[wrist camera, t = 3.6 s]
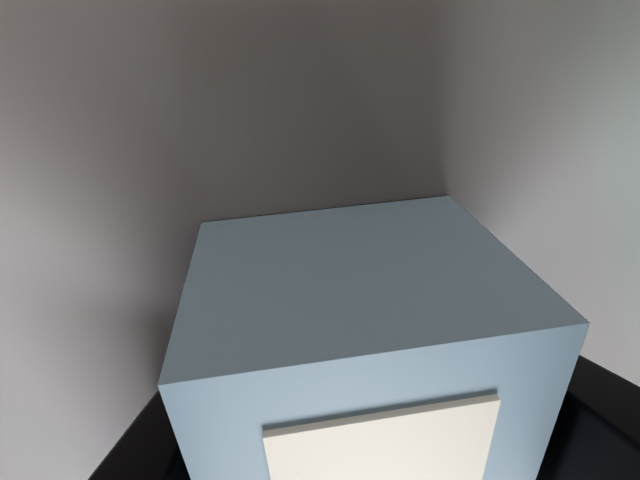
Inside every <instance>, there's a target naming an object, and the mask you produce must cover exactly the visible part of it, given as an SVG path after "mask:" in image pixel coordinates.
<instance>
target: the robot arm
mask: <svg viewBox="0 0 640 480" xmlns="http://www.w3.org/2000/svg"><path fill="white" fill-rule="evenodd" d="M88 480H191V479H190V476H189V473H188V470H187V467H186V465H185V462H184V459H183V456H182V453H181V450H180V448H179V445H178V442H177V439H176V436H175V434H174V431H173V428H172V425H171V422H170V420H169V417H168V414H167V411H166V408H165V406H164V403H163V400H162V397H161V394H160V391H159V390H158V391H157V392H156V394H155V395H154V396H153V397H152V399H151V400H150V401H149V402H148V404H147V405H146V406H145V408H144V409H143V410H142V411H141V413H140V414H139V415H138V416H137V418H136V419H135V420H134V422H133V423H132V424H131V425H130V427H129V428H128V429H127V430H126V432H125V433H124V434H123V435H122V437H121V438H120V439H119V441H118V442H117V443H116V444H115V446H114V447H113V448H112V449H111V451H110V452H109V453H108V455H107V456H106V457H105V458H104V460H103V461H102V462H101V463H100V465H99V466H98V467H97V469H96V470H95V471H94V472H93V474H92V475H91V476H90V477H89V479H88ZM536 480H640V387H639V386H637V385H635V384H633V383H631V382H630V381H628V380H626V379H624V378H622V377H620V376H618V375H616V374H614V373H613V372H611V371H609V370H607V369H605V368H603V367H601V366H599V365H597V364H596V363H594V362H592V361H590V360H588V359H586V358H584V357H582V356H580V355H579V356H578V359H577V362H576V365H575V368H574V370H573V373H572V376H571V379H570V382H569V385H568V388H567V391H566V394H565V396H564V399H563V402H562V405H561V408H560V411H559V414H558V417H557V419H556V422H555V425H554V428H553V431H552V434H551V437H550V440H549V443H548V445H547V448H546V451H545V454H544V457H543V460H542V463H541V466H540V468H539V471H538V474H537V477H536Z"/></svg>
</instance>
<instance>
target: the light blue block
mask: <svg viewBox="0 0 640 480" xmlns="http://www.w3.org/2000/svg"><path fill="white" fill-rule="evenodd" d="M589 324H590V322H589V321H587V320H586V319H585V318H584V317H583V316H582V315H581V314H580V313H579V312H577V311H576V310H575V309H574V308H573V307H572V306H571V305H570V304H569V303H568V302H566V301H565V300H564V299H563V298H562V297H561V296H560V295H559V294H558V293H556V292H555V291H554V290H553V289H552V288H551V287H550V286H549V285H548V284H547V283H545V282H544V281H543V280H542V279H541V278H540V277H539V276H538V275H537V274H535V273H534V272H533V271H532V270H531V269H530V268H529V267H528V266H527V265H526V264H524V263H523V262H522V261H521V260H520V259H519V258H518V257H517V256H516V255H514V254H513V253H512V252H511V251H510V250H509V249H508V248H507V247H506V246H505V245H503V244H502V243H501V242H500V241H499V240H498V239H497V238H496V237H495V236H493V235H492V234H491V233H490V232H489V231H488V230H487V229H486V228H485V227H484V226H482V225H481V224H480V223H479V222H478V221H477V220H476V219H475V218H474V217H472V216H471V215H470V214H469V213H468V212H467V211H466V210H465V209H464V208H463V207H461V206H460V205H459V204H458V203H457V202H456V201H455V200H454V199H453V198H451V197H450V196H442V197H433V198H423V199H414V200H405V201H396V202H386V203H377V204H368V205H359V206H349V207H340V208H331V209H322V210H312V211H303V212H294V213H285V214H276V215H266V216H257V217H248V218H239V219H229V220H220V221H211V222H202V223H201V225H200V229H199V233H198V236H197V240H196V244H195V248H194V251H193V255H192V259H191V262H190V266H189V270H188V274H187V277H186V281H185V285H184V288H183V292H182V296H181V299H180V303H179V307H178V311H177V314H176V318H175V322H174V325H173V329H172V333H171V337H170V340H169V344H168V348H167V351H166V355H165V359H164V363H163V366H162V370H161V374H160V377H159V381H158V385H157V386H158V389H159V391H160V394H161V397H162V400H163V403H164V406H165V408H166V411H167V414H168V417H169V420H170V422H171V425H172V428H173V431H174V434H175V436H176V439H177V442H178V445H179V448H180V450H181V453H182V456H183V459H184V462H185V465H186V467H187V470H188V473H189V476H190V479H191V480H536V477H537V474H538V471H539V468H540V466H541V463H542V460H543V457H544V454H545V451H546V448H547V445H548V443H549V440H550V437H551V434H552V431H553V428H554V425H555V422H556V419H557V417H558V414H559V411H560V408H561V405H562V402H563V399H564V396H565V394H566V391H567V388H568V385H569V382H570V379H571V376H572V373H573V370H574V368H575V365H576V362H577V359H578V356H579V353H580V350H581V347H582V345H583V342H584V339H585V336H586V333H587V330H588V327H589Z"/></svg>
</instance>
